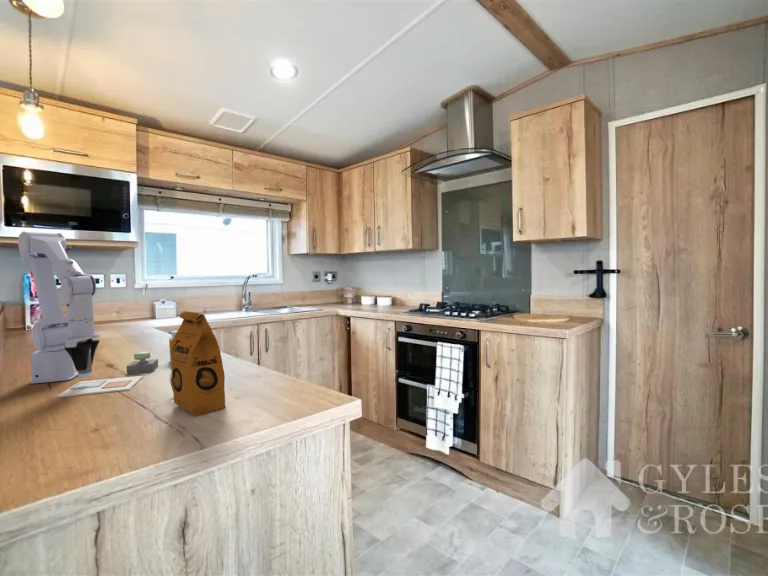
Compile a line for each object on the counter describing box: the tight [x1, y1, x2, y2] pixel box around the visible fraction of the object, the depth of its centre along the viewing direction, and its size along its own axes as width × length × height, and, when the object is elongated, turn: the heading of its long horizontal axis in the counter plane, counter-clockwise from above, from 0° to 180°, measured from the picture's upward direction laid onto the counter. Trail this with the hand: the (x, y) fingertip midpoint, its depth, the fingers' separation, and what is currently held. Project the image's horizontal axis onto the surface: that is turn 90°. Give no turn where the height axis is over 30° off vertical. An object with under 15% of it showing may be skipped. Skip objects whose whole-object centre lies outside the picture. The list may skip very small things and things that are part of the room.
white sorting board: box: [56, 375, 145, 398], centre depth 108 cm, size 16×13×1 cm
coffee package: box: [170, 310, 226, 417], centre depth 89 cm, size 10×12×22 cm
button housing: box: [126, 358, 159, 375], centre depth 124 cm, size 7×7×2 cm
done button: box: [133, 351, 151, 363], centre depth 124 cm, size 4×4×4 cm
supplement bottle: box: [168, 330, 178, 361], centre depth 137 cm, size 6×6×10 cm
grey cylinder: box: [77, 348, 93, 378], centre depth 108 cm, size 3×3×8 cm
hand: (84, 368), depth 108 cm, fingers closed on grey cylinder, 3 cm apart
